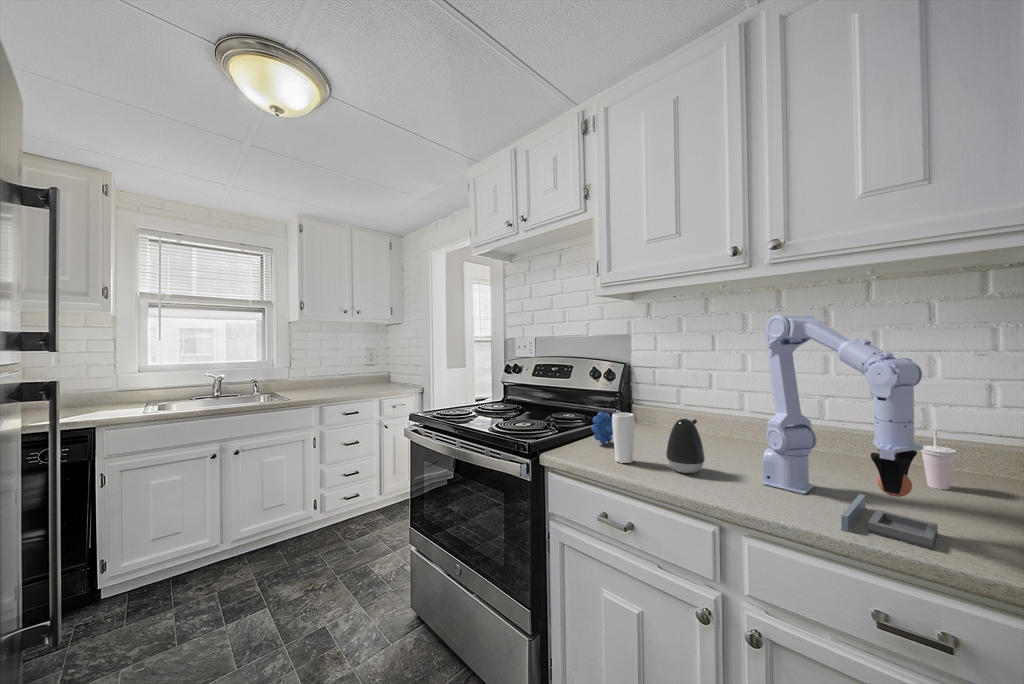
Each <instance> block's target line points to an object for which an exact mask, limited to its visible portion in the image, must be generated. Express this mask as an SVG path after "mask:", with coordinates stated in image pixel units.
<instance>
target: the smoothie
mask: <svg viewBox="0 0 1024 684" xmlns="http://www.w3.org/2000/svg"><path fill="white" fill-rule="evenodd" d="M919 451H920V452H921V454H922V455H921V456H922V461H923V467H924V468H923V469H924V472H925V479H926V483H927V487H929V486H930V487H929V488H932V487H933V488H932V489H935V488H937V489H936V490H941V489H946V490H945V491H947V489H949V490H950V485H951V479H952V473H953V470H954V469H953V468H954V463H955V457H956V456H958V454H957V450H955V449H953V448H950V447H949V448H948V447H945V446H938V431H937V430H933V445H923V450H919Z"/></svg>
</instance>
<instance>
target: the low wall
mask: <svg viewBox="0 0 1024 684" xmlns="http://www.w3.org/2000/svg"><path fill="white" fill-rule="evenodd" d="M866 502H867V501H866V494H861V493H859V494H858V496H857V497H856V498H855V499H854V500H853V501H852V502H851V503H850V504H849V506H848V507H847V508H846V509H845V510H844V511H843V513H842V514H841V515H840V516H841V520H840V522H841V526H840V527H841V531H844V532H847V533H848V532H849V531H850V530H851V529H852V527H853V526H854V524H855V523H856V522H857V521H858V519H859V518H860V517H861V515H862V514H863V513H864V512H865V510H866V509H867V508H866V506H867V505H866ZM863 511H864V512H863Z"/></svg>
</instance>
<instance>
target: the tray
mask: <svg viewBox="0 0 1024 684" xmlns="http://www.w3.org/2000/svg"><path fill="white" fill-rule="evenodd" d="M938 526H939V525H938V523H935V522H931V521H927V520H923V519H918V518H914V517H910V516H906V515H901V514H897V513H893V512H890V511H886V510H885V511H884V510H881V509H876V510H875V512H874V513H873V514H872V516H871V518H870V519H869V520H868V522H867V533H868V534H873V535H876V536H879V537H884V538H887V539H891V540H894V539H895V540H894V541H897V540H898V542H901V541H903V542H902V543H905V542H906V543H905V544H908V543H909V544H908V545H913V546H915V545H917V546H916V547H919V546H920V547H919V548H924V549H926V548H927V550H931V551H933V550H934V548H933V547H935V545H934V544H936V541H937V537H938V534H939V532H938V531H939V527H938Z"/></svg>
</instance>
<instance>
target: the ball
mask: <svg viewBox="0 0 1024 684" xmlns="http://www.w3.org/2000/svg"><path fill="white" fill-rule="evenodd" d="M876 482H877V485H878V487H879V489H880V490H881V491H883V493H886V495H887V494H888V495H889V496H892V497H898V498H900V497H905V496H907V495H909V494H910V492H912V490H913V484H912V480H911V479H910V478H909V476H908V475H907V476H906V475H905V474H904V477H903V482H902V487H901V491H900V493H899V494H895V493H890V492H886V491H884V488H883V485H882V482H881V478H880V474H878V475H877V479H876Z"/></svg>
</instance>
